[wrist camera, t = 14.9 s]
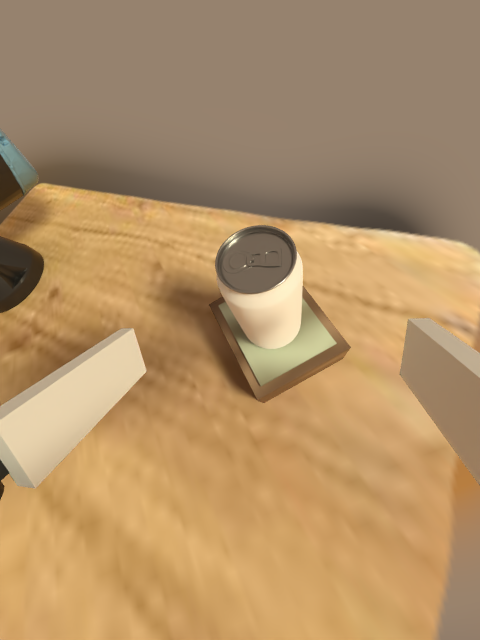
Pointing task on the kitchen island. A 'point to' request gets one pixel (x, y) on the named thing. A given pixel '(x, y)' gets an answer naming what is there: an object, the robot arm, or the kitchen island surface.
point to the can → (262, 284)
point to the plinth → (284, 350)
